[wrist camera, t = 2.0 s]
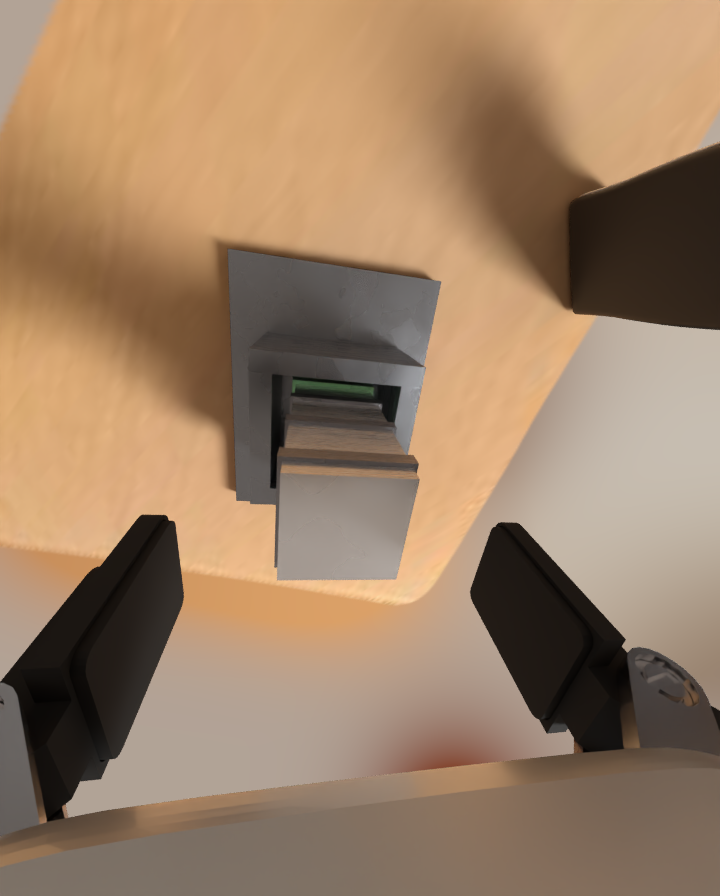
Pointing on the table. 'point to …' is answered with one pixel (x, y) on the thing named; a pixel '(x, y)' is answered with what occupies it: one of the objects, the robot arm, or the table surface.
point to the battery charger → (651, 245)
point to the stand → (318, 348)
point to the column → (341, 486)
